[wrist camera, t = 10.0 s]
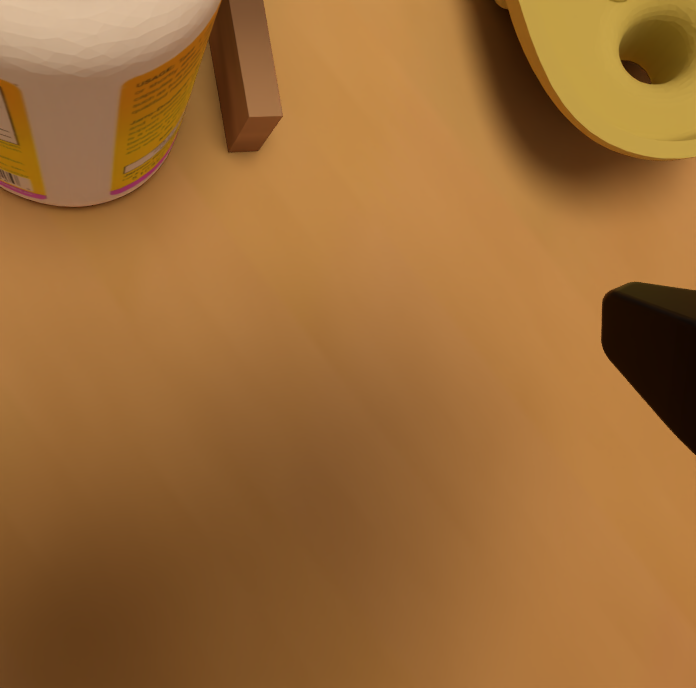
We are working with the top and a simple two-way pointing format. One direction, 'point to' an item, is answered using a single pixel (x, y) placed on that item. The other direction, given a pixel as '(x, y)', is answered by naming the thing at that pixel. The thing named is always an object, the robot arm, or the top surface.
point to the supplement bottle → (94, 92)
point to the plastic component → (616, 69)
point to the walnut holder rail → (245, 74)
